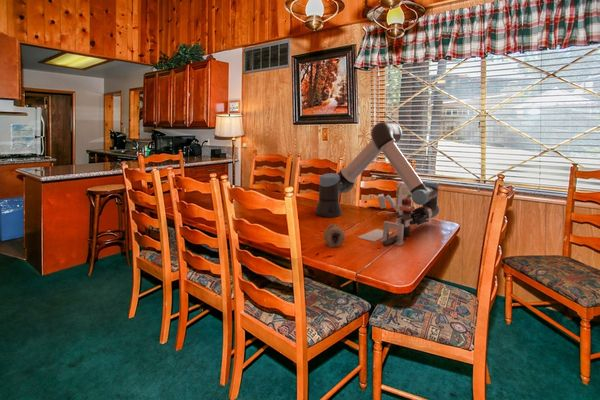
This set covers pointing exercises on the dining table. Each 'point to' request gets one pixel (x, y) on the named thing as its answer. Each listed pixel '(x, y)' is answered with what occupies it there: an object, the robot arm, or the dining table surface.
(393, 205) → the wall hook
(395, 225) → the grey u-shaped bracket
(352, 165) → the robot arm
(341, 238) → the grey round lumpy ball
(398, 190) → the juice carton
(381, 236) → the pad
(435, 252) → the dining table surface
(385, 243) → the hook
